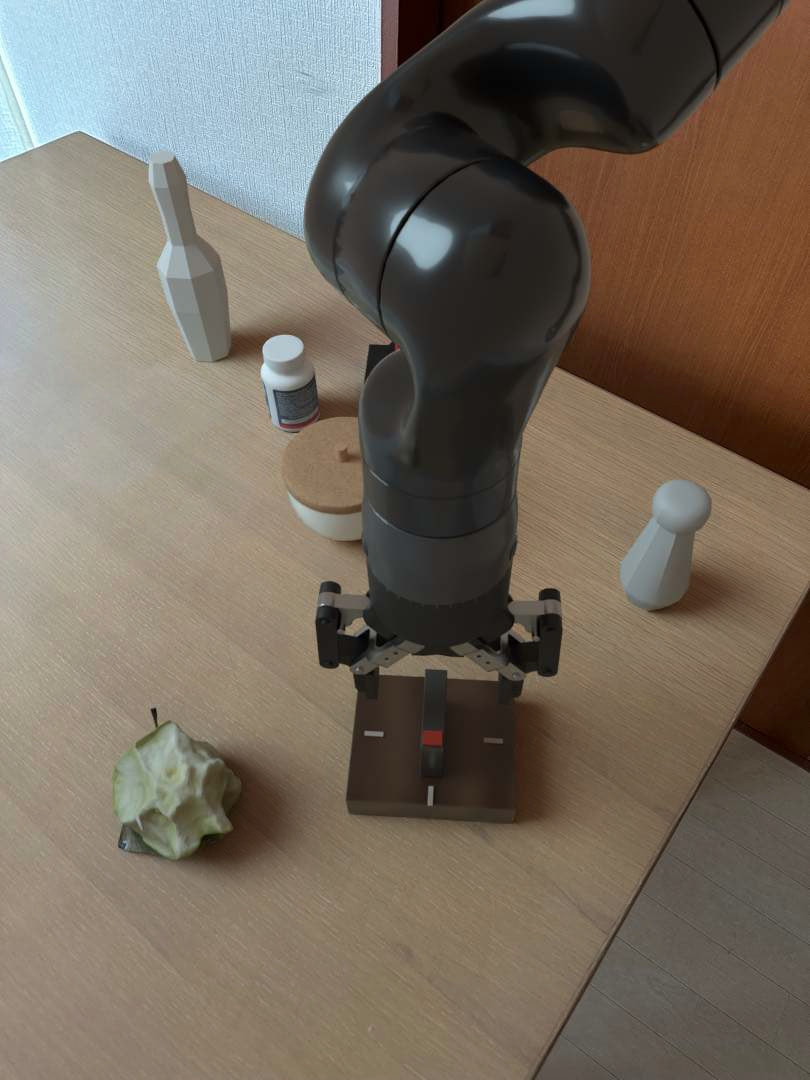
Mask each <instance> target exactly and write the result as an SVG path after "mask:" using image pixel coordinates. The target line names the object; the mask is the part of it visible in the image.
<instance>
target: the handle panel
mask: <svg viewBox="0 0 810 1080" xmlns="http://www.w3.org/2000/svg"><path fill="white" fill-rule="evenodd" d="M424 679H425V676H414V675H413V676H409V675H395V674H394V675H392V674H379V686H378V697H377V700H376V699H366V693H365V692H359V691H358V690H357V693H356V701H355V709H354V710H355V711H354V720H353V728H352V738H351V746H350V754H349V755H350V756H349V762H348V763H349V764H348V772H347V773H348V774H347V781H346V782H347V784H346V790H345V791H346V792H345V803H346V808H347V813H348V814H350V815H363V816H364V815H365V816H380V817H396V818H411V819H412V818H413V819H426V820H427V819H429V820H446V821H459V822H460V821H461V822H478V823H491V824H493V823H495V824H511V825H512V824H513V822H514V818H515V814H516V810H517V792H516V791H517V789H516V788H517V785H516V783H517V781H516V780H517V779H516V716H515V715H516V714H515V713H516V711H515V709H516V708H515V698H511V699H510V705H504V704H499V702H498V680H489V679H468V678H450V677H449V678H448V677H447V695H446V719H445V743H444V763H443V776H442V777H432V776H421V775H420V746H421V729H422V712H423V695H424Z"/></svg>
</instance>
